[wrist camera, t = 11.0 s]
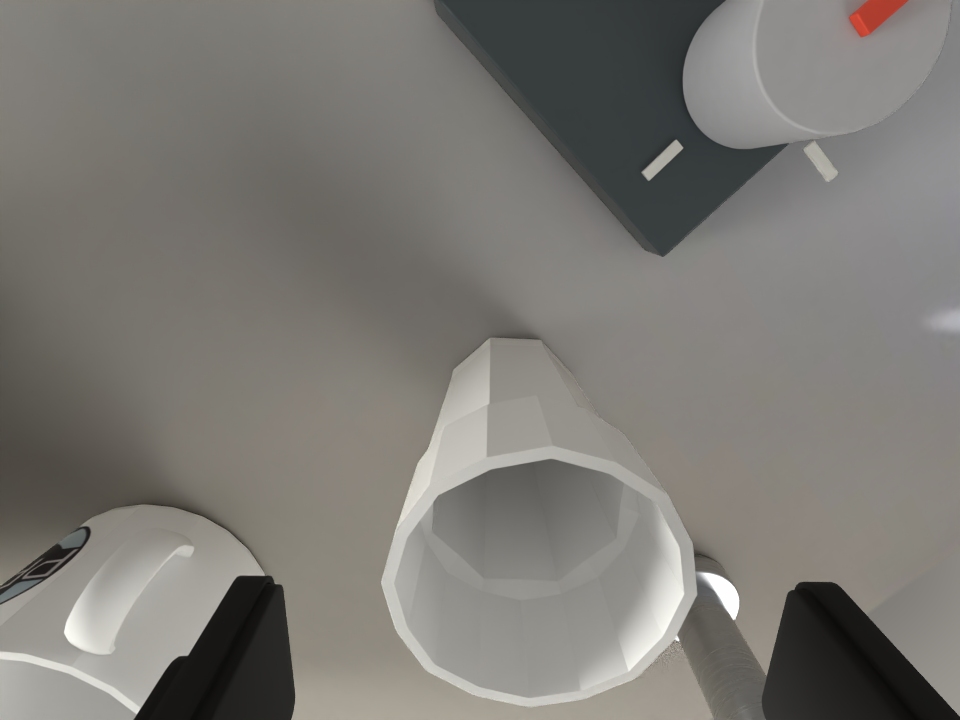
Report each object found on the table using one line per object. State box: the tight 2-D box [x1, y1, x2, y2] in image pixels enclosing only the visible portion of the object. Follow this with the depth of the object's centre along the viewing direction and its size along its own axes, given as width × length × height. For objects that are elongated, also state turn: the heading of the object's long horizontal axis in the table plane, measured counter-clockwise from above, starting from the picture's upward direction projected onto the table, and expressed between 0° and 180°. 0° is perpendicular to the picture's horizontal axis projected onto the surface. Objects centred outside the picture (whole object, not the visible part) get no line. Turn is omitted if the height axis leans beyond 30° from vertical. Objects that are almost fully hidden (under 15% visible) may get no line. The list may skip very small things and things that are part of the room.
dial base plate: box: [434, 0, 839, 257], centre depth 17 cm, size 13×10×2 cm
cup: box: [381, 338, 697, 707], centre depth 16 cm, size 7×7×11 cm
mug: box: [0, 504, 265, 720], centre depth 20 cm, size 13×10×8 cm
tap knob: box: [683, 0, 952, 149], centre depth 14 cm, size 4×4×5 cm
